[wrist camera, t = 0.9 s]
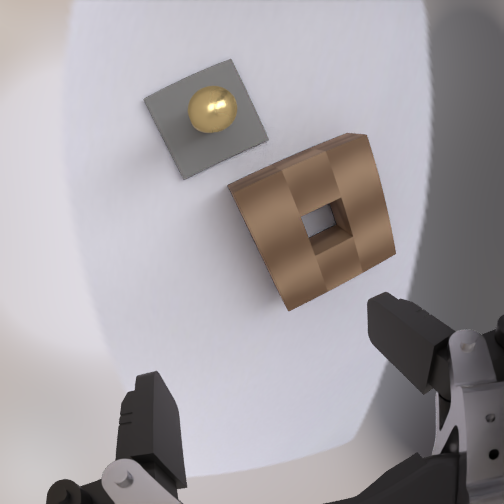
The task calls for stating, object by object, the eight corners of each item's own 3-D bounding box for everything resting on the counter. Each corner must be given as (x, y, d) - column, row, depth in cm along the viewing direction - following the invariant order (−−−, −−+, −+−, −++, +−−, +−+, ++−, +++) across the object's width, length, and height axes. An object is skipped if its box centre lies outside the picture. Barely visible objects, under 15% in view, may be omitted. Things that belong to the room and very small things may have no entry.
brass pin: (185, 110, 25) (179, 98, 16) (214, 97, 25) (225, 78, 16) (198, 138, 26) (200, 140, 17) (227, 124, 26) (245, 120, 17)
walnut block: (227, 185, 29) (232, 193, 25) (347, 133, 29) (366, 134, 25) (278, 292, 35) (288, 311, 31) (378, 241, 35) (396, 253, 31)
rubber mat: (144, 99, 24) (143, 99, 23) (230, 59, 24) (231, 58, 23) (184, 179, 28) (184, 180, 27) (267, 139, 28) (268, 139, 27)
